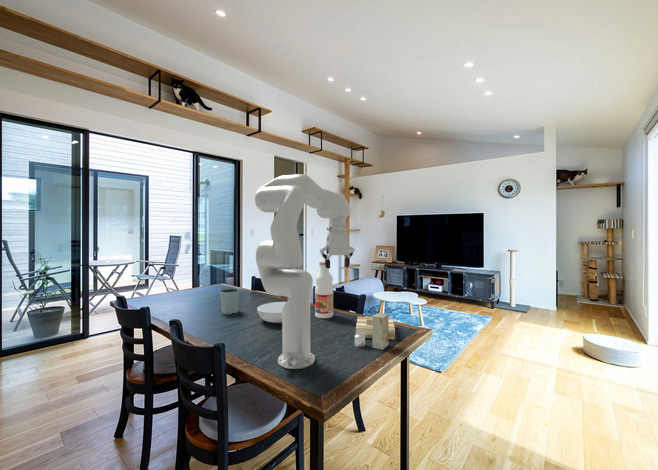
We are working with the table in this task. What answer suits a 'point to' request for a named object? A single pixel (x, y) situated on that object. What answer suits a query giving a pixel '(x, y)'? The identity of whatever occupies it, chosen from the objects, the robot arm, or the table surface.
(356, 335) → the short metal peg
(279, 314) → the serving bowl
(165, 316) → the table surface
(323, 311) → the fruit juice
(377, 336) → the skincare box
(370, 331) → the plate
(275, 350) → the table surface
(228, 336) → the table surface
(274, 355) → the table surface
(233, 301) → the grey cup
